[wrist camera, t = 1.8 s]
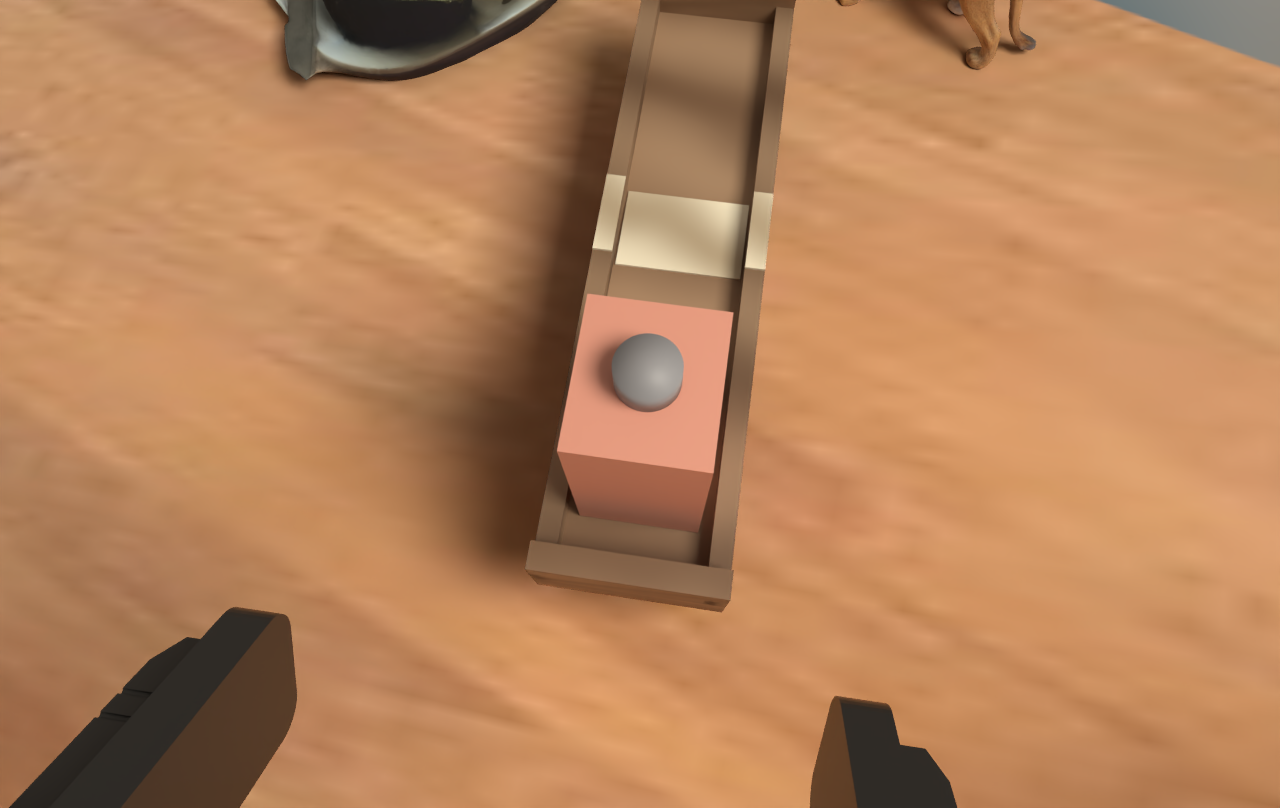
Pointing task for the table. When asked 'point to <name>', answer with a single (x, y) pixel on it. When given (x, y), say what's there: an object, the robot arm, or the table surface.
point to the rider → (645, 411)
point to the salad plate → (398, 34)
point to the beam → (682, 269)
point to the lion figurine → (985, 27)
